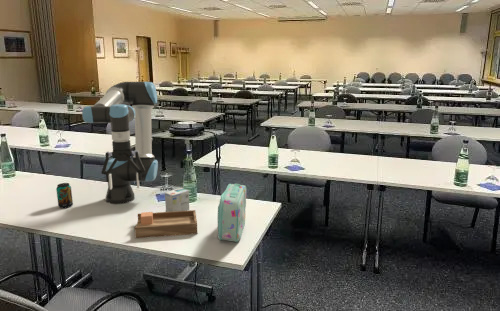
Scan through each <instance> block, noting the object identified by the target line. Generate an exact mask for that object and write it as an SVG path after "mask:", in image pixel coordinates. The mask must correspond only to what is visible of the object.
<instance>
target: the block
mask: <svg viewBox="0 0 500 311" xmlns="http://www.w3.org/2000/svg"><path fill="white" fill-rule="evenodd" d="M153 213H154V212H153V211H147V212H145V211H144V212H143V211H142V212H141V213H140V214H141V225H146V224H153Z"/></svg>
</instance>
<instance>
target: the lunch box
mask: <svg viewBox="0 0 500 311" xmlns="http://www.w3.org/2000/svg"><path fill="white" fill-rule="evenodd" d="M246 208H247V186H246V185H243V184H240V183H234V184H233V183H228V184H227V186H226V189H225V190H224V191H223V193H222V194H221V195H220V198H219V204H218V206H217V237H218V240H220V241H228V242H235V243H238V242H239V240H240V239H241V237H242V235H243V231H244V229H245V228H244V227H245V224H246Z"/></svg>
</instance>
